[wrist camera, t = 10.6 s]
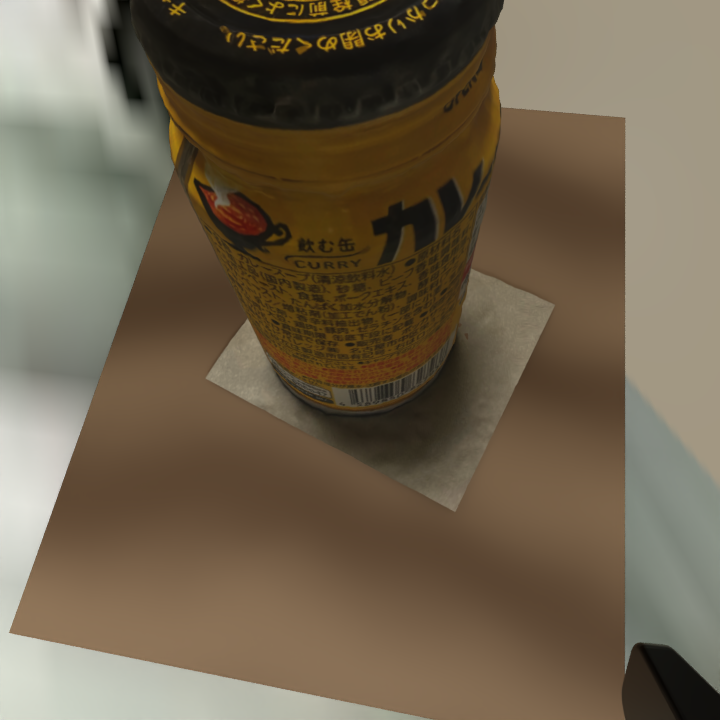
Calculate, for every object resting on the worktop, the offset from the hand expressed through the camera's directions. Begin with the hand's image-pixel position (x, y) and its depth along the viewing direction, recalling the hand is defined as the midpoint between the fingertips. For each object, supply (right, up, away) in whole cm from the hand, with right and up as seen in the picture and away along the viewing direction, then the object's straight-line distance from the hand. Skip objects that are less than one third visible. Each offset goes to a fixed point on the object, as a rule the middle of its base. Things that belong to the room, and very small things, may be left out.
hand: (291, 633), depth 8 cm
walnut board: (+1, +4, +12) cm, 13 cm away
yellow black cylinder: (+2, +4, +11) cm, 12 cm away
